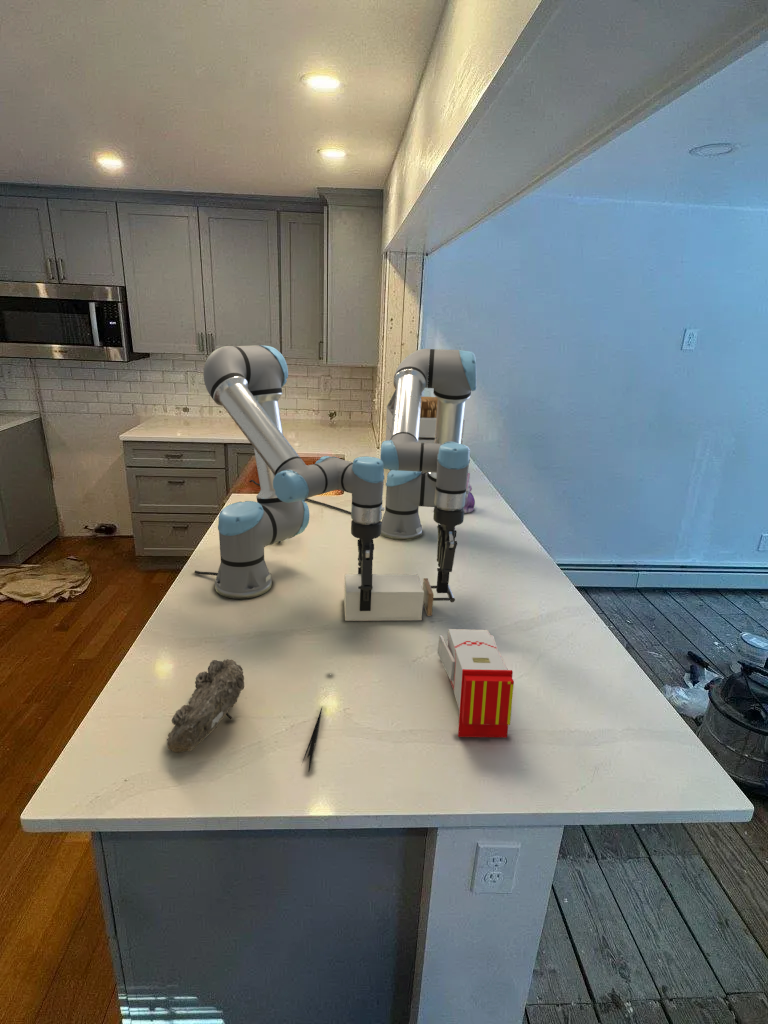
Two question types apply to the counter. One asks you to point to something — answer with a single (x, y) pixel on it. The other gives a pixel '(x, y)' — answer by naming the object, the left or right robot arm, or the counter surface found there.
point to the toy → (478, 682)
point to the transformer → (426, 419)
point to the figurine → (469, 498)
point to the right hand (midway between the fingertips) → (441, 591)
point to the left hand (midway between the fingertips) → (363, 599)
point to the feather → (313, 740)
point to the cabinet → (385, 598)
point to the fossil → (206, 705)
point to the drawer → (429, 594)
